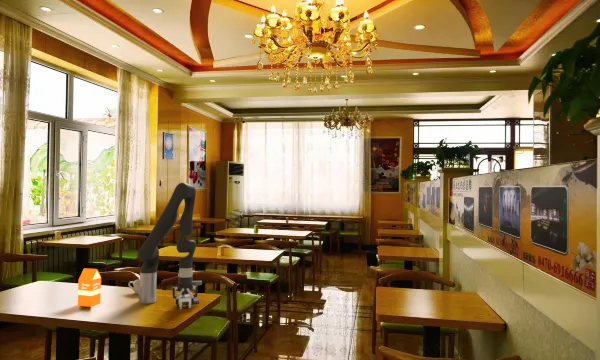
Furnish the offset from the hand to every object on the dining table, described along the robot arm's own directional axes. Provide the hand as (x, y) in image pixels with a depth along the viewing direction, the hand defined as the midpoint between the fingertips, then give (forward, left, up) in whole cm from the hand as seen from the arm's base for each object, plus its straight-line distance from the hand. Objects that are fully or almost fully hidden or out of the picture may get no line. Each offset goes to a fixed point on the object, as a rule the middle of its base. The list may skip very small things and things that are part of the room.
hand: (184, 305), depth 238 cm
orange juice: (-51, +18, -1) cm, 54 cm away
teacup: (-25, +38, -1) cm, 46 cm away
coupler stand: (+3, +10, -1) cm, 10 cm away
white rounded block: (0, 0, -1) cm, 1 cm away
